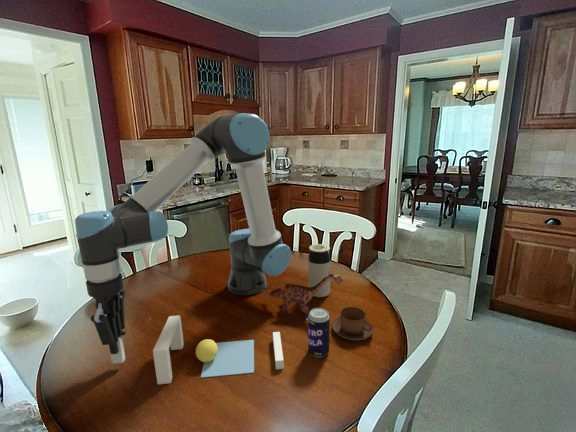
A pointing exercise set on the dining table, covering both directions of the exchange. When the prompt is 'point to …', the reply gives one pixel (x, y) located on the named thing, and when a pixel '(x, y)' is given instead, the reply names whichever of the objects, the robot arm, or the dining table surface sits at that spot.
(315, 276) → the travel mug
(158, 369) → the bridge
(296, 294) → the toy dinosaur
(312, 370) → the dining table surface
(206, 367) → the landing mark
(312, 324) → the beverage can
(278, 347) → the stopper
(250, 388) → the dining table surface
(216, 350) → the ball
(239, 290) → the robot arm
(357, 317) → the cup and saucer
